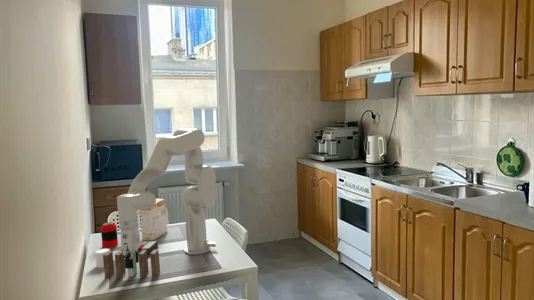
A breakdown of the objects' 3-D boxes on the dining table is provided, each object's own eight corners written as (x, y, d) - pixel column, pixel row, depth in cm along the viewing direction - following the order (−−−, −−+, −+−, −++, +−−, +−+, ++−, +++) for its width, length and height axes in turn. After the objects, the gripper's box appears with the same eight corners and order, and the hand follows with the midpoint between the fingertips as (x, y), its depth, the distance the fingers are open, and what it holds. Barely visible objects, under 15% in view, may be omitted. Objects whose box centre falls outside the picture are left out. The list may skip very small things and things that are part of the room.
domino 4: (148, 272, 178) (146, 249, 177) (144, 277, 173) (143, 253, 172) (144, 272, 178) (142, 249, 177) (140, 277, 173) (138, 254, 172)
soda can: (104, 249, 210) (102, 226, 209) (100, 246, 217) (98, 223, 215) (119, 246, 215) (118, 223, 214) (115, 242, 221) (113, 220, 220)
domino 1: (114, 273, 179) (112, 250, 178) (109, 278, 174) (107, 255, 173) (109, 273, 179) (107, 251, 178) (104, 278, 174) (102, 255, 173)
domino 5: (160, 271, 178) (158, 249, 177) (156, 276, 173) (154, 253, 172) (155, 272, 178) (153, 249, 177) (151, 276, 173) (150, 253, 172)
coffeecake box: (157, 231, 238) (154, 198, 236) (167, 232, 236) (165, 198, 234) (141, 239, 224) (138, 204, 222) (152, 240, 222) (150, 204, 220)
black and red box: (129, 241, 211) (157, 239, 209) (130, 250, 211) (158, 248, 210) (119, 249, 200) (149, 247, 198) (120, 257, 200) (150, 256, 199)
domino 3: (137, 271, 178) (135, 249, 177) (133, 276, 173) (131, 253, 172) (132, 271, 178) (130, 249, 177) (128, 276, 174) (126, 253, 172)
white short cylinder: (94, 269, 184) (92, 254, 184) (96, 264, 191) (94, 249, 190) (110, 267, 186) (109, 252, 186) (111, 261, 193) (110, 247, 192)
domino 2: (125, 272, 179) (123, 250, 178) (121, 277, 174) (119, 254, 173) (121, 273, 179) (119, 250, 178) (116, 277, 174) (114, 254, 173)
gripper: (130, 229, 165) (133, 273, 167) (144, 217, 182) (147, 257, 184) (111, 230, 165) (115, 273, 167) (127, 218, 182) (130, 258, 184)
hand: (132, 264), depth 176 cm, fingers open, 5 cm apart
